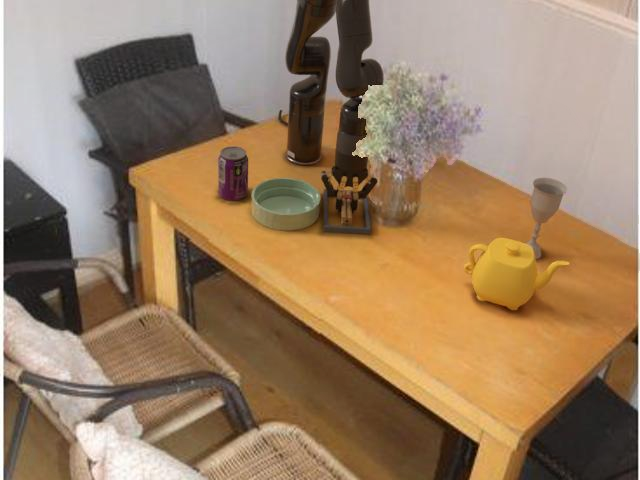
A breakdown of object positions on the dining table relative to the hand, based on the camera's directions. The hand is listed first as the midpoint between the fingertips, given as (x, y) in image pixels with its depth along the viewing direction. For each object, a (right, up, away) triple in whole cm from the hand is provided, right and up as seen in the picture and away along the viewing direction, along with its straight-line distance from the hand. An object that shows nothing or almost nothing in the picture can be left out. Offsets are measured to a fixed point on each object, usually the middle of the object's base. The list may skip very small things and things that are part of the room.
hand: (345, 210), depth 175 cm
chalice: (+42, -10, -6) cm, 44 cm away
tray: (0, -1, +1) cm, 1 cm away
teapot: (+34, -19, -19) cm, 43 cm away
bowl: (-14, -1, 0) cm, 14 cm away
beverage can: (-27, +4, +5) cm, 28 cm away
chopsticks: (0, 0, 0) cm, 0 cm away
